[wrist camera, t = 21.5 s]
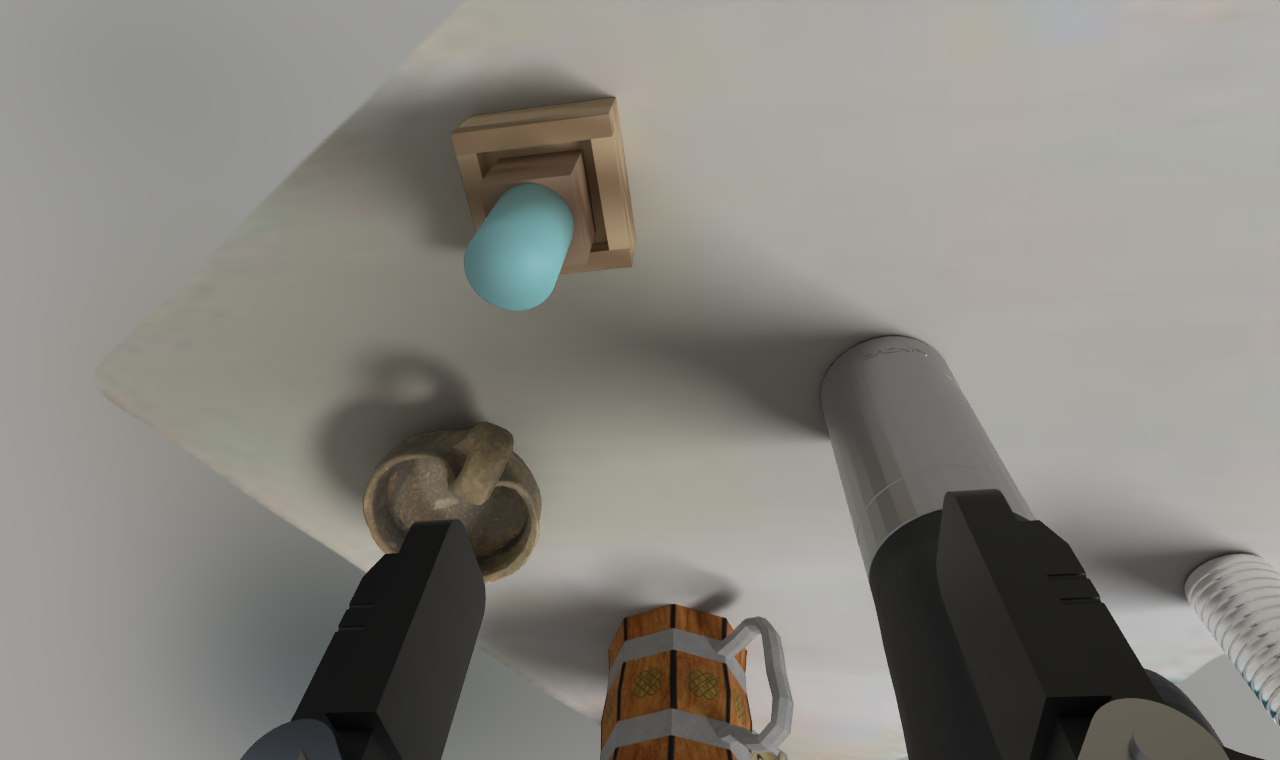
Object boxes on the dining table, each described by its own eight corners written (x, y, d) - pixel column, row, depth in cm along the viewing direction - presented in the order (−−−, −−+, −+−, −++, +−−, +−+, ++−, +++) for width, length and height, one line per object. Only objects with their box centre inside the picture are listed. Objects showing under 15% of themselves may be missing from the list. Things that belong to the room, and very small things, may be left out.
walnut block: (596, 231, 44) (586, 264, 40) (517, 238, 45) (499, 272, 41) (582, 149, 41) (570, 175, 37) (498, 158, 42) (477, 185, 38)
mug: (680, 708, 75) (679, 867, 63) (580, 649, 71) (556, 807, 58) (824, 621, 67) (856, 785, 54) (720, 548, 62) (727, 708, 50)
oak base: (636, 239, 47) (631, 266, 44) (504, 253, 49) (489, 281, 45) (615, 97, 43) (608, 114, 39) (470, 116, 44) (450, 134, 40)
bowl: (364, 494, 61) (313, 585, 53) (437, 343, 53) (390, 422, 44) (510, 556, 65) (484, 652, 56) (601, 423, 56) (586, 512, 48)
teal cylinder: (580, 257, 40) (564, 306, 35) (503, 265, 40) (477, 314, 35) (565, 178, 37) (546, 219, 32) (484, 188, 38) (453, 229, 33)
